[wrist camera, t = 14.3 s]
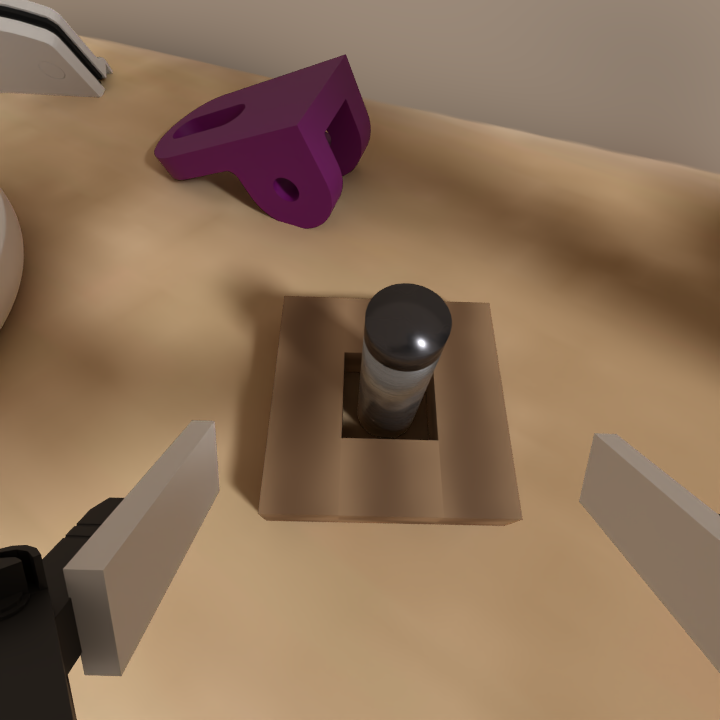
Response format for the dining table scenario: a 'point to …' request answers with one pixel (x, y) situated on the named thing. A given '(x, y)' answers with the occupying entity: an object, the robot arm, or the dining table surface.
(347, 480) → the socket block
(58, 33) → the napkin holder
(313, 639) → the dining table surface
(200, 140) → the mounting bracket
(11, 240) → the bowl
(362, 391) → the grey and black cylinder
